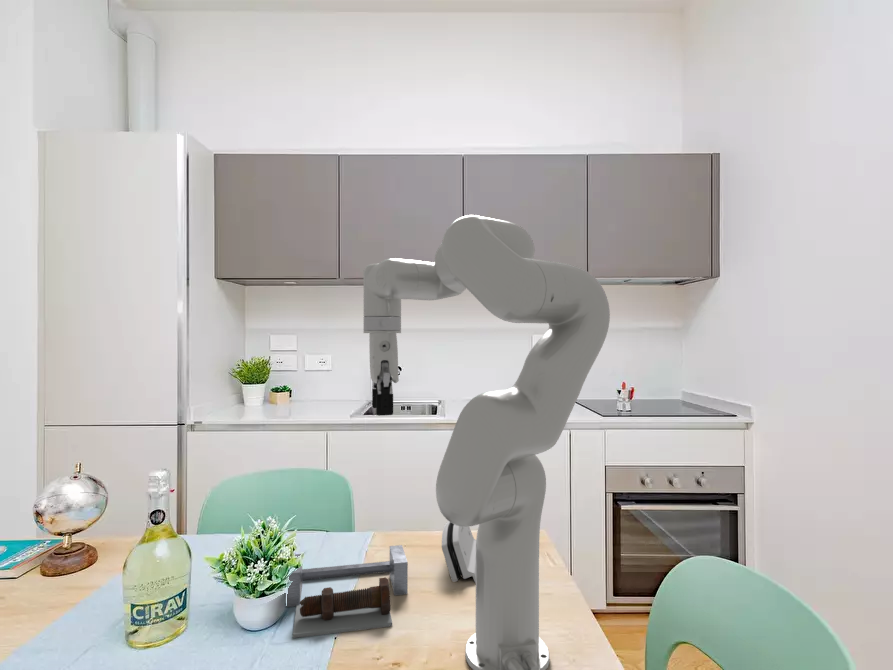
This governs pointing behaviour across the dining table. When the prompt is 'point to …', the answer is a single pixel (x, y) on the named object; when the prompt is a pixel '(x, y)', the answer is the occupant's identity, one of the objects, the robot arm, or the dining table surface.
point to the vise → (394, 566)
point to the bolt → (347, 601)
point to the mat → (340, 622)
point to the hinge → (459, 551)
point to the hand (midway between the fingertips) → (382, 411)
